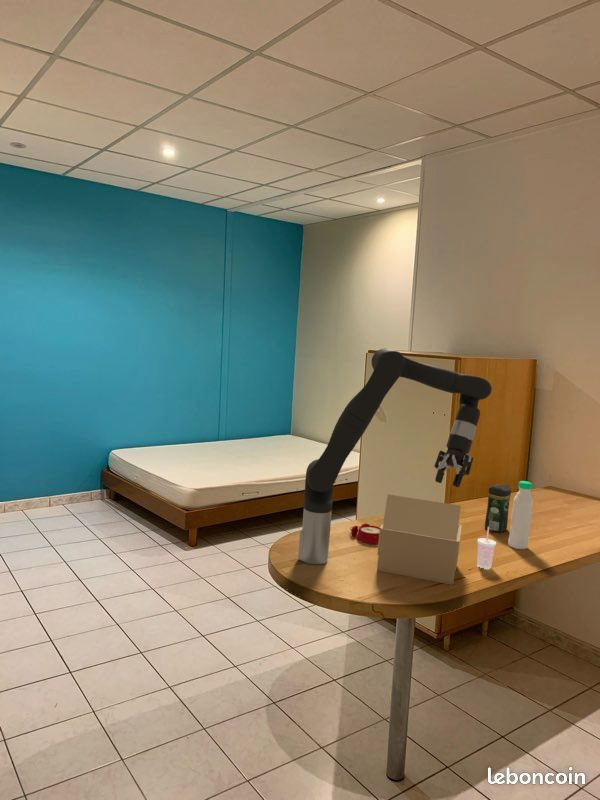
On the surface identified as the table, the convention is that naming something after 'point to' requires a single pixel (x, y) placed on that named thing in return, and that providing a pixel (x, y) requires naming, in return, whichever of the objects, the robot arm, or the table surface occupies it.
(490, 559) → the beverage cup
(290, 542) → the table surface
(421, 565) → the carton
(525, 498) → the water bottle
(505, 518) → the coffee jar
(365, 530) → the alarm clock
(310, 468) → the robot arm
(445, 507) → the carton flap
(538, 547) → the table surface
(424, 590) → the table surface
